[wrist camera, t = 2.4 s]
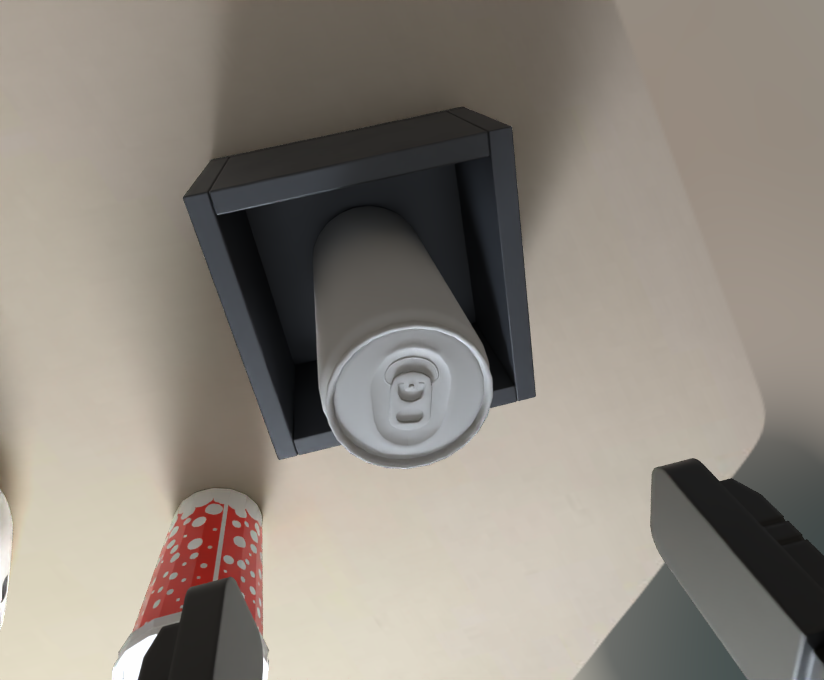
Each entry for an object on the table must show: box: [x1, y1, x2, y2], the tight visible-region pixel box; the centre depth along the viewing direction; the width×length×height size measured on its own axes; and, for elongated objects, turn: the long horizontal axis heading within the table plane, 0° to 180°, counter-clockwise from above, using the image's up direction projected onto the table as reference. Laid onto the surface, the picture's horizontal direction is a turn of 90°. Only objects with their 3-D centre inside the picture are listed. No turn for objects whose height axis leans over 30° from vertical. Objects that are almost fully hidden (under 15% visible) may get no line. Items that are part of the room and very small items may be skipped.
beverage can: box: [313, 206, 493, 469], centre depth 21 cm, size 5×5×12 cm
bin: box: [183, 107, 536, 460], centre depth 24 cm, size 11×11×6 cm
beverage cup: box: [112, 488, 269, 680], centre depth 26 cm, size 6×6×14 cm
